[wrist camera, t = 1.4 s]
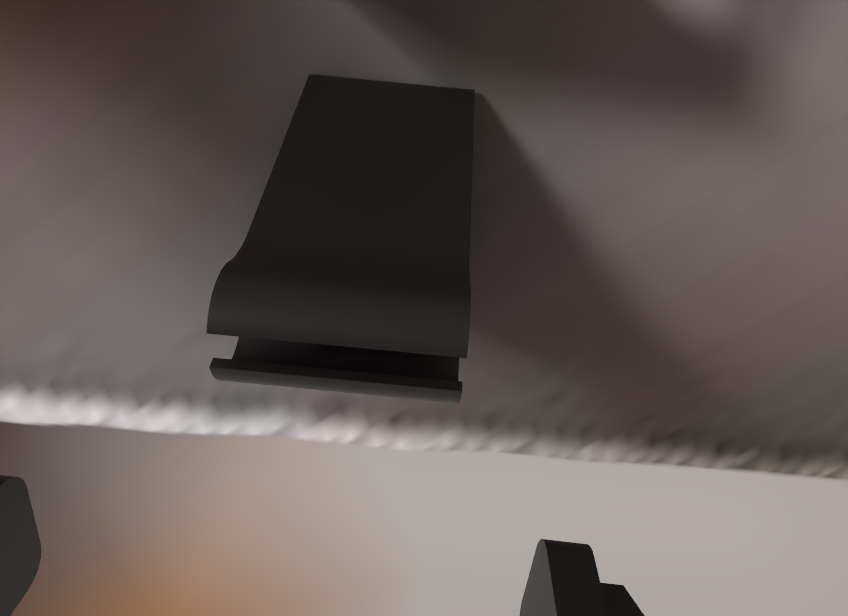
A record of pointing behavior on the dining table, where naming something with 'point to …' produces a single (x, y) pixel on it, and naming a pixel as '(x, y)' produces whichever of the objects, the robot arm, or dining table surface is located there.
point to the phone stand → (358, 247)
